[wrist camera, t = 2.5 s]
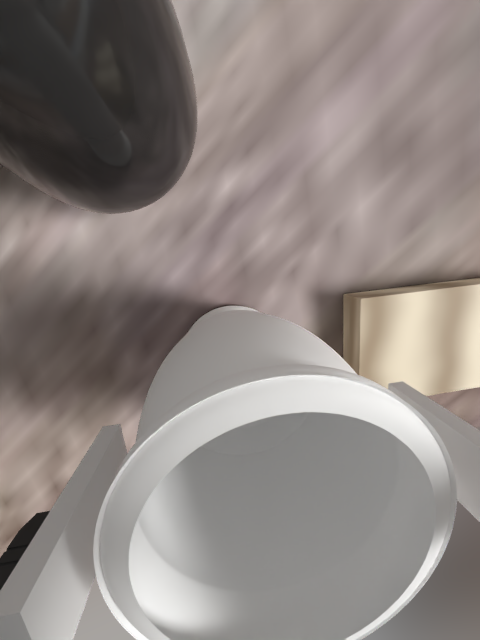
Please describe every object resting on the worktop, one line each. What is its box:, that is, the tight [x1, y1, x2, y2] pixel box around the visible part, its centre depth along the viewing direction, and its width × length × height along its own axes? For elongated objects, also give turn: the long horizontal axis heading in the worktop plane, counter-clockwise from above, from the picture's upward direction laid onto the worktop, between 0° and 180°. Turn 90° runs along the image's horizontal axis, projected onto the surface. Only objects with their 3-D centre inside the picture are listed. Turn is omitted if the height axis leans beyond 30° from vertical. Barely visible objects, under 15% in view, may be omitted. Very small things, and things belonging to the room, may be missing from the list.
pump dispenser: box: [0, 0, 197, 214], centre depth 10 cm, size 10×10×15 cm
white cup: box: [93, 306, 457, 640], centre depth 14 cm, size 11×10×15 cm
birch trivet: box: [343, 278, 480, 396], centre depth 22 cm, size 14×9×2 cm, turn 96°
